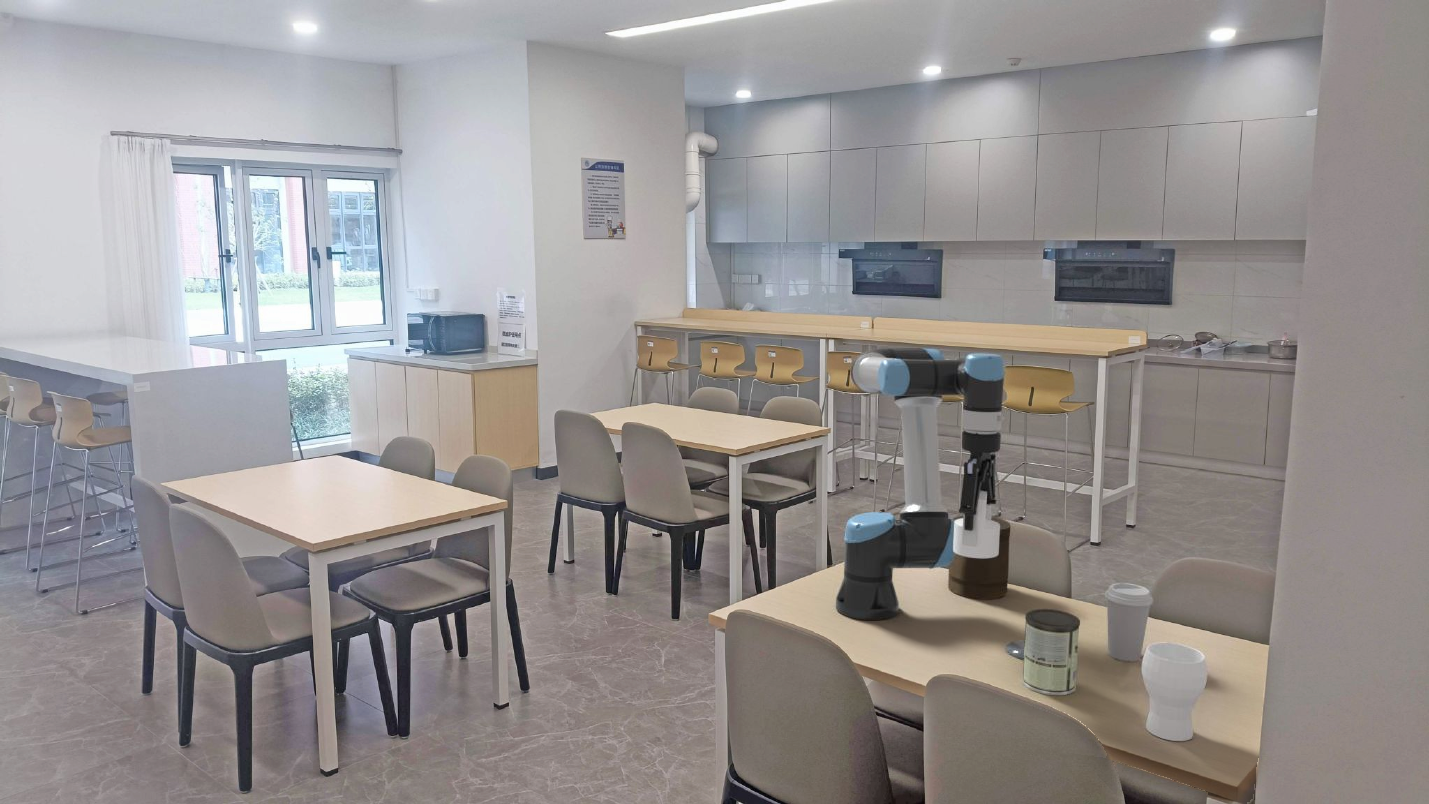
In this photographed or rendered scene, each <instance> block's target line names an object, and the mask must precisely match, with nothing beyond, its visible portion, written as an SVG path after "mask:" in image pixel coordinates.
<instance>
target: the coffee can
mask: <svg viewBox="0 0 1429 804" xmlns="http://www.w3.org/2000/svg"><path fill="white" fill-rule="evenodd" d="M1024 618H1025V630H1024V631H1025V632H1024V641H1025V647H1024V660H1023V667H1022V668H1023V669H1022V680H1021V681H1022V682H1021V683H1022V684H1023V685H1024V686H1025V687H1026V688H1027V689H1029V690H1031V691H1033V692H1036V693H1039V694H1043V695H1049V696H1066V695H1070V694H1072V693H1074V692H1075V691H1076V689H1077V688H1076V679H1077V666H1078V665H1077V663H1078V648H1079V647H1078V646H1079V633H1080V630H1079V629H1080V626H1081V619H1079V617H1078V616H1076V615H1074V614H1072V613H1070V612H1066V611H1062V610H1059V609H1053V608H1052V609H1051V608H1036V609H1032V610H1028V611H1027V612H1026V613H1025V617H1024Z"/></svg>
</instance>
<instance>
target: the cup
mask: <svg viewBox="0 0 1429 804" xmlns="http://www.w3.org/2000/svg"><path fill="white" fill-rule="evenodd" d="M1141 674H1142V679H1143V684H1144V687H1145V689H1146V691H1147V692H1148V695H1149V707H1150V708H1149V713H1148V716H1147V719H1146V722H1145V723H1146V725H1145V729H1146V730H1147V731H1148V732H1149V733H1150V734H1151V735H1153V736H1155V737H1158V738H1161V739H1163V740H1167V741H1174V742H1185V741H1189V740H1191V739H1193V736H1194V729H1193V728H1194V727H1193V718H1192V716H1193V711H1194V707H1195V704H1196V702H1197V701H1198V700H1199V699H1200V698H1201V696H1202V694H1203V692H1204V690H1205V688H1206V685H1207V681H1208V667H1207V660H1206V657H1205V654H1204V653H1203V652H1201V651H1200V650H1198V649H1196V648H1194V647H1191V646H1188V645H1184V644H1180V643H1175V642H1174V643H1173V642H1153V643H1151V644H1149V645H1147V647H1146V649H1145V651H1144V655H1143V657H1142V661H1141Z"/></svg>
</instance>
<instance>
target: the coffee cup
mask: <svg viewBox="0 0 1429 804" xmlns="http://www.w3.org/2000/svg"><path fill="white" fill-rule="evenodd" d="M1104 597H1105V598H1106V605H1107V606H1106V607H1107V609H1106V611H1107V614H1106V615H1107V652H1108V653H1107V654H1108V656H1110V657H1111V658H1113V659H1115V660H1118V661H1121V662H1128V661H1129V662H1130V663H1131V662H1132V663H1133V662H1138V661H1140V660H1141V658H1142V657H1141V656H1142V651H1143V648H1144V647H1143V646H1144V639H1145V634H1146V629H1147V624H1148V619H1149V612H1150V608H1151V605H1152V604H1153V603H1154V599H1153V596H1152V595H1151V592H1150V590H1149V589H1148V588H1146V587H1144V586H1142V585H1138V584H1133V583H1126V582H1125V583H1124V582H1117V583H1112V584H1110V585H1109V586H1108V589H1106V591H1105V593H1104Z"/></svg>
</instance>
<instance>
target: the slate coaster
mask: <svg viewBox="0 0 1429 804" xmlns="http://www.w3.org/2000/svg"><path fill="white" fill-rule="evenodd" d="M1024 647H1025V640H1013V641H1010V642H1008V643H1007V644H1006V645H1005V652H1006V653H1007V654H1009V655H1010V656H1011V657H1014V658H1016V659H1019V660H1023V661H1024Z"/></svg>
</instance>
